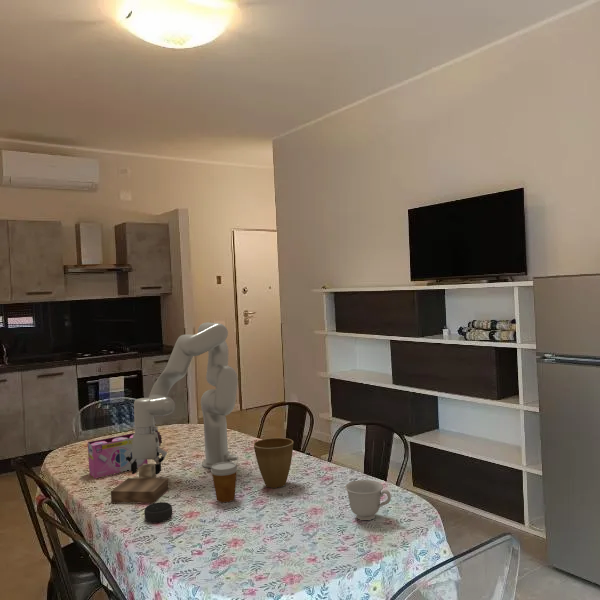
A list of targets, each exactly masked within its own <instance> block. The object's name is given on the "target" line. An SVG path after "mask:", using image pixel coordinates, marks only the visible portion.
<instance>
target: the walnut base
mask: <svg viewBox="0 0 600 600" xmlns="http://www.w3.org/2000/svg"><path fill="white" fill-rule="evenodd" d="M169 488H170V487H169V478H168V477H166V478H165V477H163V478H162V477H159V478H158V477H156V478H139V477H136V478H135V477H130V478H129V477H128V478H126V479H125V480H124V481H123V482H121V483H120V484H118V485H117V486H115V487H114V488H113V489H112V490H110V499H111V503H119V502H143V503H142V504H145V503H144V502H147V503H146V504H153V503H156V502H157V501H158V500H159V499H160V497H162V496H163V495H164V494H165V493H166V492H167V491H168V490H169ZM149 502H150V503H149Z"/></svg>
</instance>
